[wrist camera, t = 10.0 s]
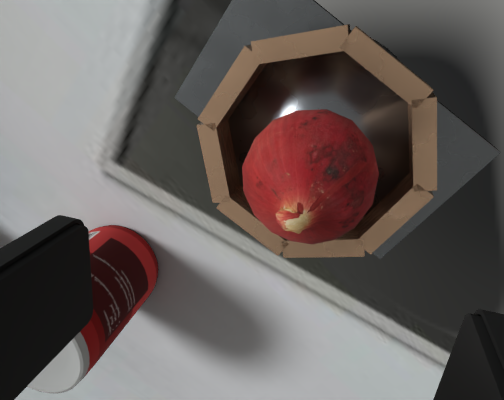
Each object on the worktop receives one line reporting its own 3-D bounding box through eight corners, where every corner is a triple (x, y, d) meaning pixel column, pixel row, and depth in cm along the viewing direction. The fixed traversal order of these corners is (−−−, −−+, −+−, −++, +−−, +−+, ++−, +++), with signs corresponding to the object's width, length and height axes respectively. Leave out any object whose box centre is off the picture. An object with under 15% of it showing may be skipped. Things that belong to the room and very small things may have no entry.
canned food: (76, 275, 39) (-23, 362, 29) (91, 206, 35) (-17, 278, 25) (148, 312, 38) (72, 413, 28) (171, 246, 34) (93, 335, 25)
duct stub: (501, 140, 25) (558, 191, 17) (375, 254, 30) (377, 332, 23) (268, -50, 24) (222, -81, 17) (178, 100, 29) (112, 127, 22)
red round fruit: (322, 67, 20) (303, 106, 13) (398, 154, 21) (421, 235, 14) (239, 144, 22) (186, 212, 15) (311, 218, 23) (292, 313, 16)
